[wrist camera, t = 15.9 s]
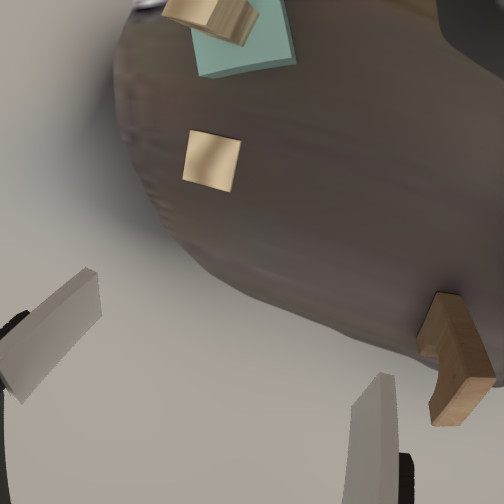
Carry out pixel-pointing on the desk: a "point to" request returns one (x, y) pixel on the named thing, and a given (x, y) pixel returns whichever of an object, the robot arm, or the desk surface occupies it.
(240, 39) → the maple pillar
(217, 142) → the maple swatch tile
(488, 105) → the desk surface
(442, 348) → the decorative block
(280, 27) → the teal base block
